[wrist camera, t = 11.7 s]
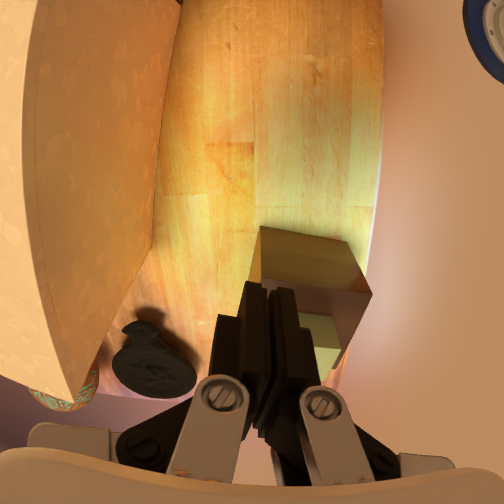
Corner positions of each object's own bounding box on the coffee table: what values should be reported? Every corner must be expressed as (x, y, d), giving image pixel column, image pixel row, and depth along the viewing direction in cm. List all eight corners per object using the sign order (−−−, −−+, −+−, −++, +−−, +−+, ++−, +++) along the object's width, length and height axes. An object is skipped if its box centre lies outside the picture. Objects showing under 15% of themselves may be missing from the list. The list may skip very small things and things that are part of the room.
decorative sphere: (102, 321, 50) (70, 387, 37) (115, 375, 58) (93, 435, 45) (35, 306, 50) (-4, 361, 36) (53, 359, 57) (26, 412, 44)
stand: (259, 225, 42) (261, 277, 31) (346, 241, 43) (373, 294, 32) (243, 299, 47) (240, 360, 37) (321, 310, 48) (335, 369, 38)
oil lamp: (195, 309, 48) (190, 331, 44) (201, 386, 58) (198, 407, 54) (106, 301, 48) (95, 320, 44) (128, 377, 58) (122, 396, 53)
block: (287, 310, 33) (291, 344, 29) (332, 316, 34) (341, 349, 29) (276, 343, 36) (278, 377, 31) (318, 348, 36) (324, 381, 32)
